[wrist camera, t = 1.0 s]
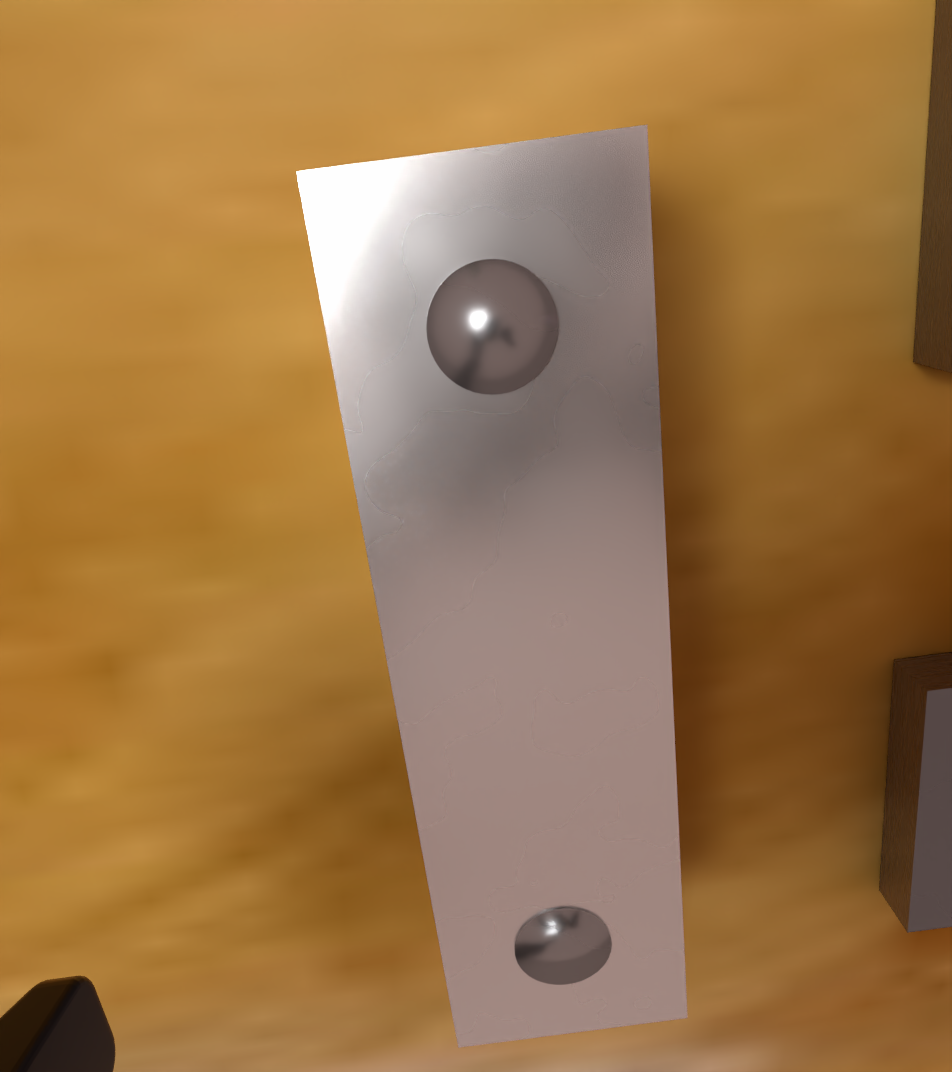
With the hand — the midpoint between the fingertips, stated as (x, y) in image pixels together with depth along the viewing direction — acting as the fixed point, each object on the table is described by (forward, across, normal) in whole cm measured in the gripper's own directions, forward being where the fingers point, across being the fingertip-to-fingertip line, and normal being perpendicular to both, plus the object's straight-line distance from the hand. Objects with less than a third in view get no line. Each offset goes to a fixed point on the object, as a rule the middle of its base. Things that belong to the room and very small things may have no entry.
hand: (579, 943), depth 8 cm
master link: (+8, 0, 0) cm, 9 cm away
